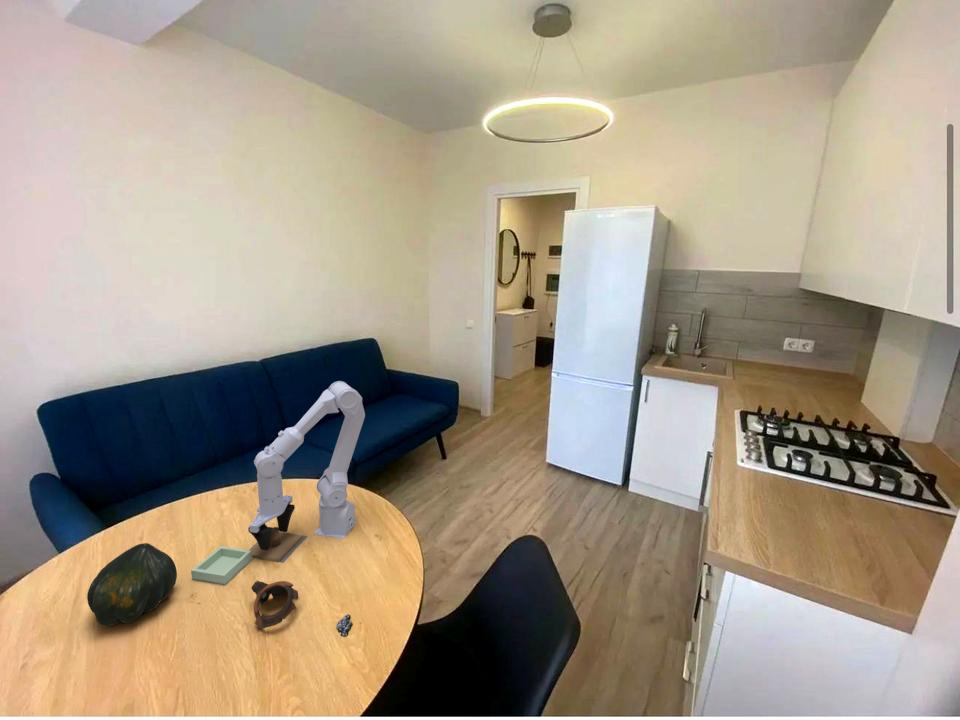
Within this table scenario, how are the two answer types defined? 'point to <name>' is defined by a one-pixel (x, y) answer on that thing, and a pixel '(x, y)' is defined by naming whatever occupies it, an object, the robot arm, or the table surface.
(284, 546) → the lid
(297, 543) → the mat
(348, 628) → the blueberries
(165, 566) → the squash
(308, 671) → the table surface
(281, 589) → the pottery mug
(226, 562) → the dish
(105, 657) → the table surface
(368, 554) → the table surface
